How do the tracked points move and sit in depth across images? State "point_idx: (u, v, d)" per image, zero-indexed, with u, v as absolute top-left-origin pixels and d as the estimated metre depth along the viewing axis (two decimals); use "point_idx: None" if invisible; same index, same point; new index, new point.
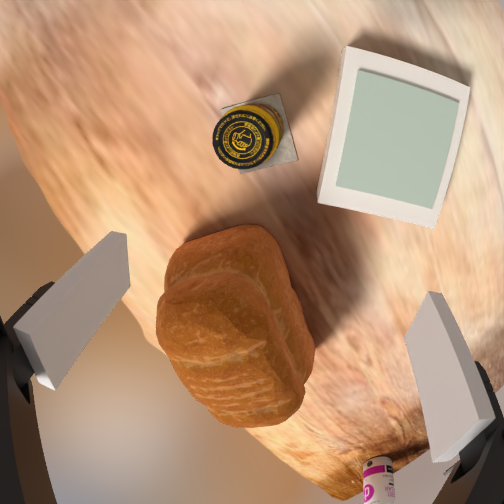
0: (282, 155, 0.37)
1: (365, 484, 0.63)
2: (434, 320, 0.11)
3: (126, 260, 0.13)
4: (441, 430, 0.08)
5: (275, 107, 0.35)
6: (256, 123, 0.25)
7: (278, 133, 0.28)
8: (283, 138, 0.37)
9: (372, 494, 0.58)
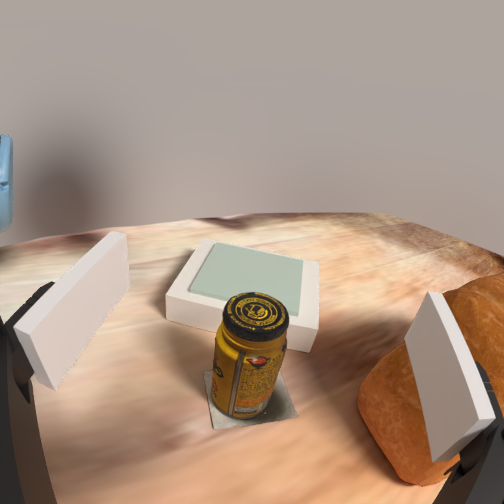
0: None
1: None
2: (434, 320, 0.11)
3: (126, 260, 0.13)
4: (441, 430, 0.08)
5: None
6: (239, 298, 0.26)
7: None
8: None
9: None
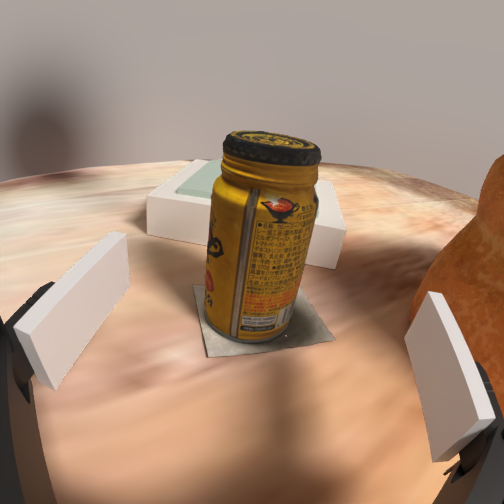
0: None
1: None
2: (434, 320, 0.11)
3: (126, 260, 0.13)
4: (441, 430, 0.08)
5: None
6: (246, 132, 0.17)
7: None
8: None
9: None
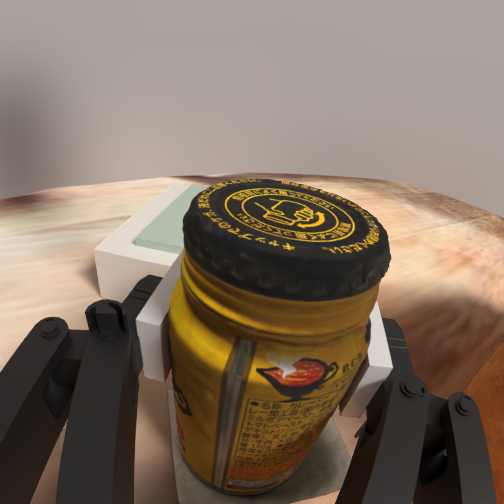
0: None
1: None
2: None
3: None
4: None
5: None
6: (237, 185, 0.09)
7: None
8: None
9: None
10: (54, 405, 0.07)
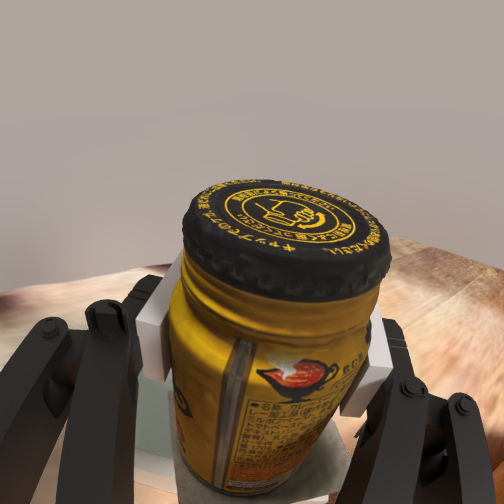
0: None
1: None
2: None
3: None
4: None
5: None
6: (237, 185, 0.09)
7: None
8: None
9: None
10: (54, 405, 0.07)
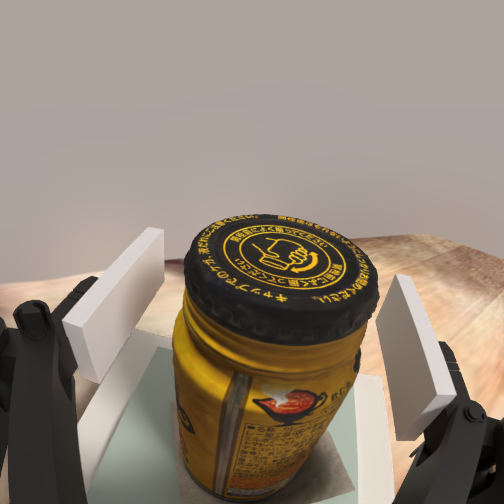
0: None
1: None
2: (400, 301, 0.12)
3: (162, 255, 0.14)
4: (404, 407, 0.09)
5: None
6: (235, 223, 0.09)
7: None
8: None
9: None
10: (3, 401, 0.07)
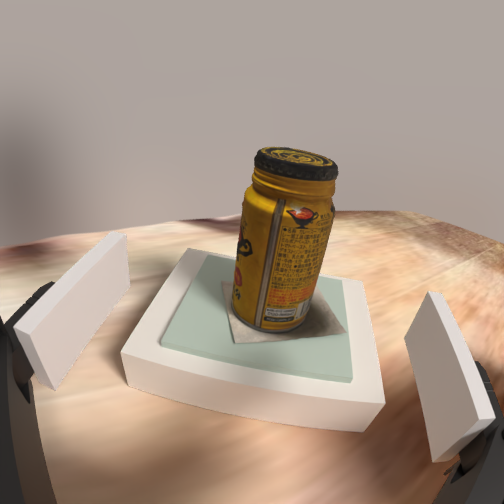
0: None
1: None
2: (434, 320, 0.11)
3: (126, 260, 0.13)
4: (441, 430, 0.08)
5: None
6: (274, 148, 0.20)
7: None
8: None
9: None
10: None
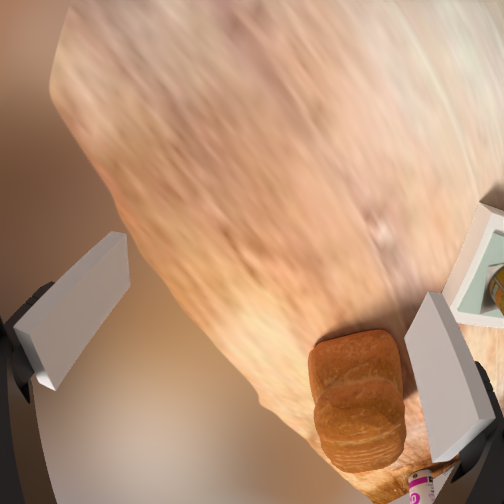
0: None
1: (412, 493, 0.70)
2: (434, 320, 0.11)
3: (126, 260, 0.13)
4: (441, 430, 0.08)
5: None
6: None
7: None
8: None
9: (418, 501, 0.65)
10: None
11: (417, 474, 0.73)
